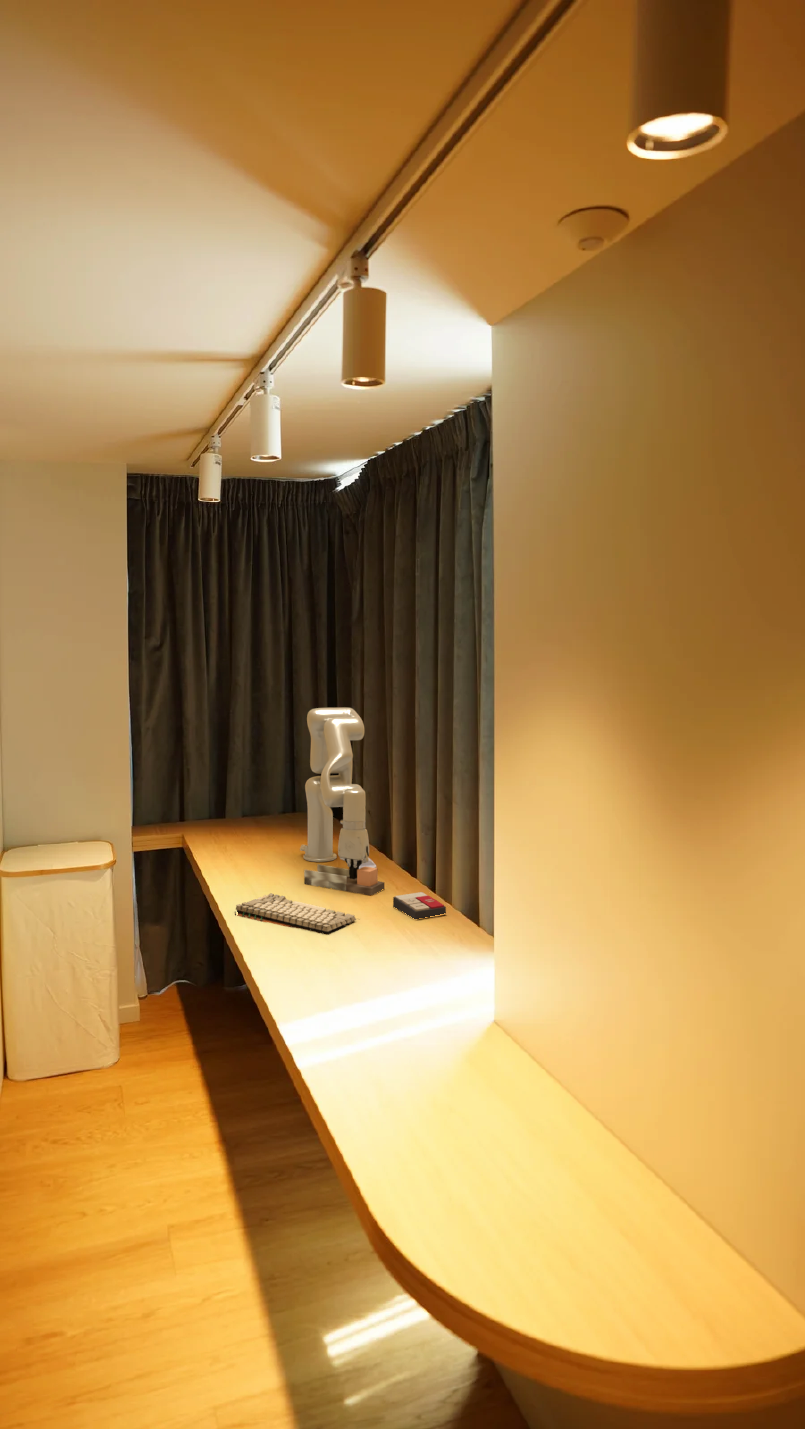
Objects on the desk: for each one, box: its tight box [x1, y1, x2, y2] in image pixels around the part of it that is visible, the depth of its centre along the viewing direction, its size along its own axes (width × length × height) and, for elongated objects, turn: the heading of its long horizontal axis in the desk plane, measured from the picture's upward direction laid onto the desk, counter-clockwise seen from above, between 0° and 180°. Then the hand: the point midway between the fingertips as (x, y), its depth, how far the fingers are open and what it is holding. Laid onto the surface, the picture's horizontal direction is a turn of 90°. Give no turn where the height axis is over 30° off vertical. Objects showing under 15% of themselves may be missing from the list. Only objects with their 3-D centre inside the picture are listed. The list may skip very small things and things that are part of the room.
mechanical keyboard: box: [235, 892, 361, 936], centre depth 298 cm, size 38×19×3 cm, turn 58°
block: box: [357, 866, 379, 886], centre depth 325 cm, size 5×5×5 cm
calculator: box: [392, 891, 447, 920], centre depth 304 cm, size 11×4×15 cm
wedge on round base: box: [359, 857, 377, 869], centre depth 348 cm, size 9×7×13 cm
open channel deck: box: [303, 864, 385, 896], centre depth 330 cm, size 27×9×5 cm, turn 61°
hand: (354, 877), depth 328 cm, fingers closed
